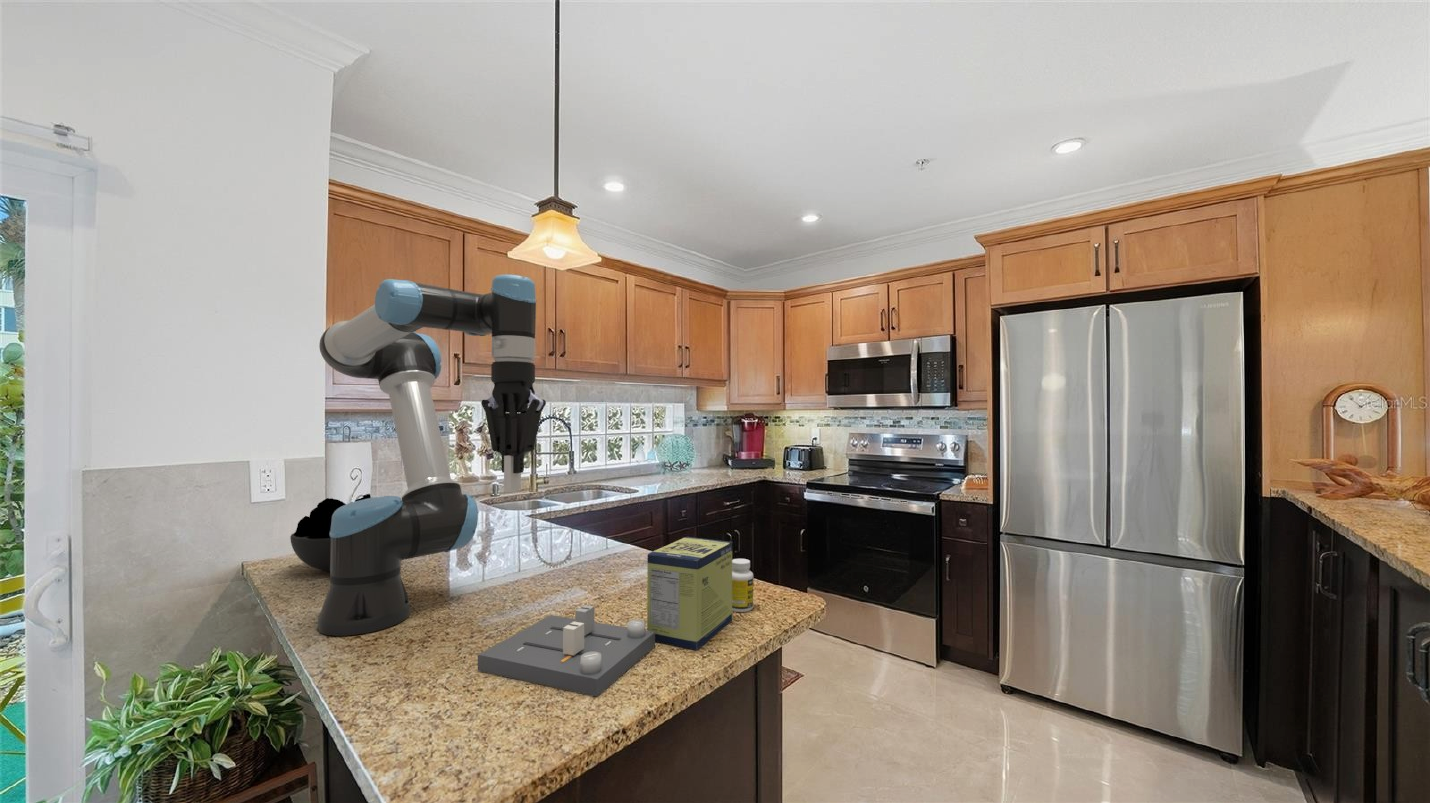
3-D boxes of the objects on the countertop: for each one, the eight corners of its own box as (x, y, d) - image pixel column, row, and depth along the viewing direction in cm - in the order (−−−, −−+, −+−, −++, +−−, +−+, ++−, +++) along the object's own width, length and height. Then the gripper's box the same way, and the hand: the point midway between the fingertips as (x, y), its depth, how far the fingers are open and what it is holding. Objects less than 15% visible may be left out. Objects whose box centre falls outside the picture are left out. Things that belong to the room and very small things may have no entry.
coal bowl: (282, 585, 127) (284, 505, 128) (296, 565, 145) (297, 494, 145) (382, 573, 137) (383, 498, 138) (384, 555, 155) (385, 489, 155)
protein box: (733, 620, 107) (733, 540, 107) (697, 651, 93) (697, 560, 93) (686, 611, 111) (686, 535, 112) (645, 640, 97) (645, 553, 97)
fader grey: (575, 633, 93) (575, 609, 93) (584, 627, 96) (584, 604, 96) (585, 635, 92) (585, 611, 92) (594, 629, 95) (594, 605, 95)
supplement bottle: (751, 613, 110) (751, 565, 110) (725, 611, 111) (725, 563, 111) (754, 604, 115) (754, 558, 116) (729, 602, 116) (729, 556, 117)
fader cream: (562, 653, 86) (563, 627, 86) (573, 646, 88) (573, 620, 88) (573, 655, 85) (573, 628, 85) (584, 648, 87) (584, 622, 88)
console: (477, 670, 86) (477, 641, 86) (550, 628, 103) (550, 603, 103) (597, 696, 78) (597, 664, 78) (655, 646, 95) (655, 619, 95)
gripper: (470, 361, 98) (468, 492, 98) (528, 358, 94) (527, 496, 93) (500, 364, 105) (499, 486, 105) (556, 362, 101) (555, 490, 100)
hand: (512, 490), depth 99 cm, fingers closed
